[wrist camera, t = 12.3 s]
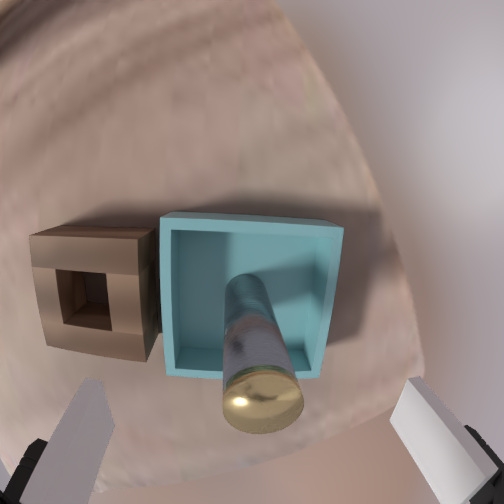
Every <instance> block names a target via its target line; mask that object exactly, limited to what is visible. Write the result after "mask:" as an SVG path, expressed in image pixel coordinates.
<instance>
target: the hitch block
mask: <svg viewBox="0 0 504 504" xmlns="http://www.w3.org/2000/svg"><path fill="white" fill-rule="evenodd" d="M29 240H30V252H31V262H32V270H33V278H34V285H35V291H36V297H37V302H38V308H39V313H40V318H41V322H42V327H43V331H44V335H45V339H46V343H47V345H48V346H52V347H57V348H61V349H66V350H71V351H76V352H81V353H86V354H92V355H98V356H104V357H110V358H117V359H124V360H131V361H139V362H147V359H148V357H149V355H150V352H151V350H152V348H153V345H154V343H155V341H156V338H157V336H158V334H159V333H158V319H157V302H156V278H155V228H125V227H89V226H57V227H54V228H50V229H47V230H44V231H41V232H38V233H35V234H32V235H29ZM83 271H84V272H96V273H106V277H107V289H108V299H109V304H100V303H91V302H87V299H86V291H85V283H84V272H83Z"/></svg>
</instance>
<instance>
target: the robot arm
mask: <svg viewBox="0 0 504 504" xmlns="http://www.w3.org/2000/svg"><path fill="white" fill-rule="evenodd" d="M390 422H391V424H392V425H393V427H394V429H395V430H396V432H397V433H398V435H399V437H400V438H401V440H402V441H403V443H404V444H405V446H406V448H407V449H408V451H409V453H410V454H411V456H412V457H413V459H414V461H415V462H416V464H417V465H418V467H419V469H420V470H421V472H422V474H423V475H424V477H425V479H426V480H427V482H428V484H429V485H430V487H431V489H432V490H433V492H434V493H435V495H436V497H437V498H438V500H439V502H440V503H441V504H466V503H467V502H468V501H470V503H471V504H504V463H503V462H502V461H501V460H500V459H499V458H498V456H497V455H496V454H495V453H494V451H493V450H492V449H491V448H490V447H489V445H486V442H485V441H484V440H483V439H481V438H482V437H481V436H480V435H479V434H478V433H477V431H476V430H474V429H473V428H471V427H469V426H468V425H465V426H463V425H462V424H461V423H460V421H459V420H458V419H457V418H456V417H455V416H454V414H453V413H452V412H451V411H450V410H449V409H448V407H447V406H446V405H445V404H444V403H443V402H442V401H441V400H440V398H439V397H438V396H437V395H436V394H435V393H434V391H433V390H432V389H431V388H430V387H429V386H428V385H427V384H426V383H425V382H424V380H423V379H422V378H421V377H420V376H419V377H414V378H409V379H407V381H406V384H405V386H404V389H403V391H402V394H401V396H400V398H399V401H398V403H397V405H396V407H395V410H394V412H393V414H392V416H391V418H390ZM114 427H115V424H114V421H113V418H112V415H111V411H110V408H109V405H108V401H107V398H106V394H105V391H104V387H103V383H102V381H100V380H95V379H90V378H85V380H84V381H83V383H82V385H81V386H80V388H79V390H78V391H77V393H76V395H75V396H74V398H73V400H72V401H71V403H70V405H69V406H68V408H67V410H66V412H65V413H64V415H63V417H62V419H61V420H60V422H59V424H58V426H57V427H56V429H55V431H54V433H53V435H52V436H51V438H50V440H49V442H47V441H44V440H41V439H39V438H38V439H37V440H36V441H34V442H33V443H32V444H30V445H29V446H28V448H27V450H26V452H25V453H24V455H23V456H24V457H22V459H21V461H20V462H19V465H18V466H17V468H16V470H15V472H14V474H13V475H12V477H11V479H10V481H9V483H8V485H7V487H6V489H5V491H4V492H3V493H2V491H1V490H0V504H88V501H89V498H90V495H91V492H92V489H93V486H94V483H95V480H96V477H97V474H98V471H99V468H100V465H101V462H102V460H103V457H104V454H105V451H106V448H107V446H108V443H109V440H110V437H111V435H112V432H113V429H114Z"/></svg>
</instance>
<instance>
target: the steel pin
mask: <svg viewBox="0 0 504 504" xmlns="http://www.w3.org/2000/svg"><path fill="white" fill-rule="evenodd" d="M303 407H304V398H303V395H302V392H301V389H300V386H299V383H298V380H297V377H296V375H295V372H294V369H293V366H292V363H291V360H290V357H289V354H288V351H287V348H286V346H285V343H284V340H283V337H282V334H281V331H280V328H279V325H278V322H277V319H276V317H275V314H274V311H273V308H272V305H271V302H270V299H269V296H268V293H267V291H266V288H265V285H264V283H263V282H262V281H261V280H260V279H259V278H258V277H256V276H254V275H251V274H240V275H237V276H235V277H234V278H232V279H231V280H230V281H229V282H228V284H227V286H226V289H225V305H224V344H223V414H224V417H225V419H226V420H227V422H228V423H229V424H230V425H231V426H233V427H234V428H236V429H238V430H240V431H243V432H246V433H251V434H267V433H273V432H276V431H279V430H282V429H284V428H286V427H288V426H289V425H291V424H292V423H293V422H294V421H296V419H297V418H298V417H299V416H300V414H301V413H302V410H303Z"/></svg>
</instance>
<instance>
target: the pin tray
mask: <svg viewBox="0 0 504 504" xmlns="http://www.w3.org/2000/svg"><path fill="white" fill-rule="evenodd" d="M343 232H344V228H343V227H341V226H339V225H336V224H334V223H331V222H329V221H326V220H319V219H306V218H292V217H277V216H261V215H244V214H225V213H203V212H176V211H172V212H170V213H168V214H166V215H164V216H162V217H160V289H161V312H162V328H163V342H164V354H165V365H166V375H170V376H182V377H195V378H213V379H223V344H224V305H225V289H226V286H227V284H228V282H229V281H230V280H231V279H232V278H234V277H235V276H237V275H240V274H251V275H254V276H256V277H258V278H259V279H260V280H261V281H262V282H263V283H264V285H265V288H266V291H267V293H268V296H269V299H270V302H271V305H272V308H273V311H274V314H275V317H276V319H277V322H278V325H279V328H280V331H281V334H282V337H283V340H284V343H285V346H286V348H287V351H288V354H289V357H290V360H291V363H292V366H293V369H294V372H295V375H296V377H297V379H303V378H319V374H320V370H321V365H322V361H323V356H324V351H325V346H326V341H327V336H328V331H329V326H330V320H331V315H332V309H333V303H334V297H335V291H336V285H337V278H338V271H339V264H340V257H341V249H342V241H343Z"/></svg>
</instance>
